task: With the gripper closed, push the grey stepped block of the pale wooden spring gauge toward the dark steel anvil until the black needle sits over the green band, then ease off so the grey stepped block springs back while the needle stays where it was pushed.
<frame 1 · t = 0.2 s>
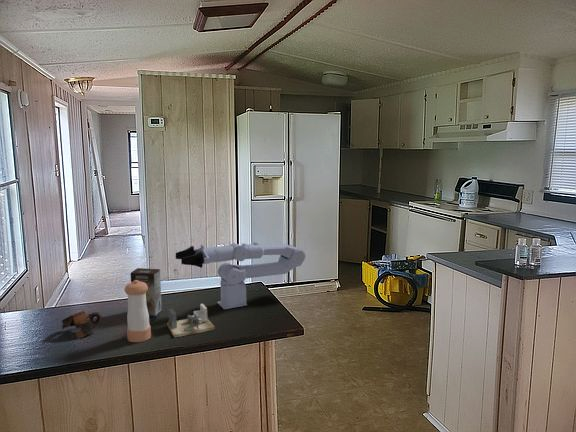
hand: (178, 258, 156), 21 cm above the counter, tool horizontal, fingers open, 7 cm apart
gauge base: (190, 327, 148), on the counter
grey stepped block: (197, 314, 150), point 4 cm above the counter, slide at 0.0 cm
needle: (196, 322, 146), point 3 cm above the counter, slide at 0.0 cm
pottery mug: (83, 333, 145), on the counter
anvil: (172, 328, 148), resting on gauge base
coffee box: (147, 312, 162), on the counter
salt shaker: (139, 338, 141), on the counter
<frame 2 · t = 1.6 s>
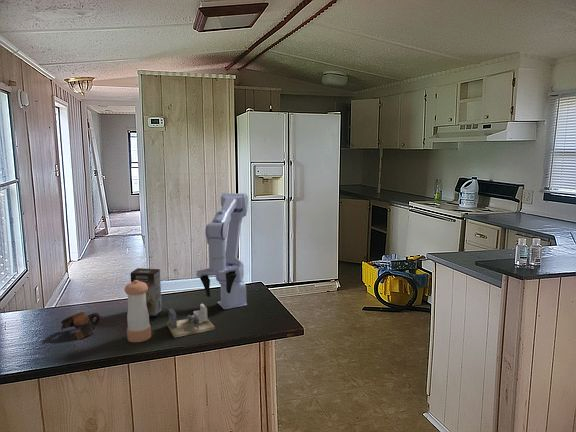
hand: (218, 294, 153), 9 cm above the counter, tool pointing down, fingers open, 7 cm apart
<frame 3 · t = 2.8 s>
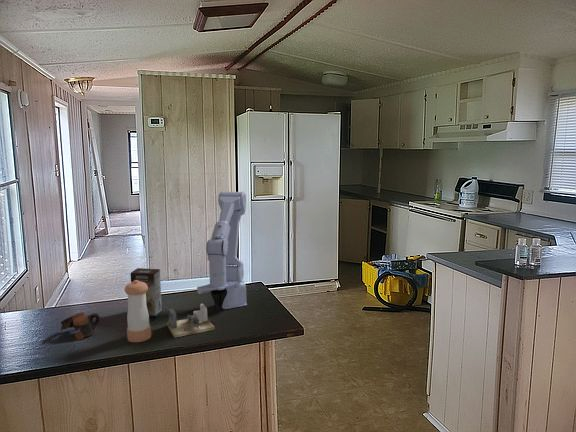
hand: (218, 309, 154), 4 cm above the counter, tool pointing down, fingers closed
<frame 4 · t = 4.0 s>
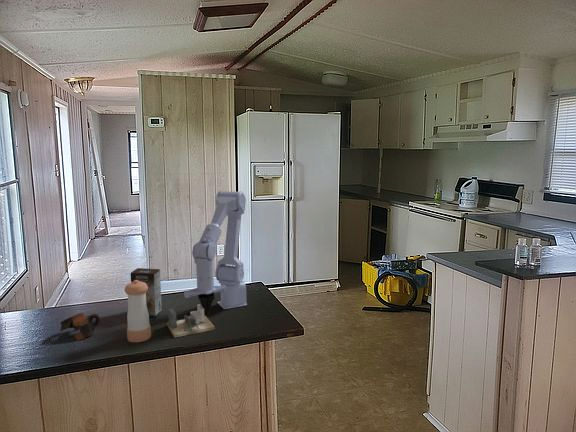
hand: (206, 314, 152), 3 cm above the counter, tool pointing down, fingers closed
grey stepped block: (194, 315, 149), point 4 cm above the counter, slide at 1.0 cm, touching gripper, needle
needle: (194, 322, 145), point 3 cm above the counter, slide at 0.7 cm, touching grey stepped block
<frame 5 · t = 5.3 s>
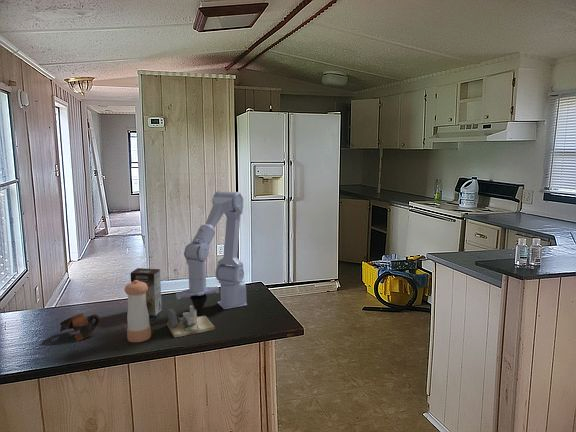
hand: (198, 315, 151), 3 cm above the counter, tool pointing down, fingers closed
grey stepped block: (186, 316, 148), point 4 cm above the counter, slide at 3.7 cm, touching gripper, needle
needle: (186, 324, 144), point 3 cm above the counter, slide at 3.4 cm, touching grey stepped block
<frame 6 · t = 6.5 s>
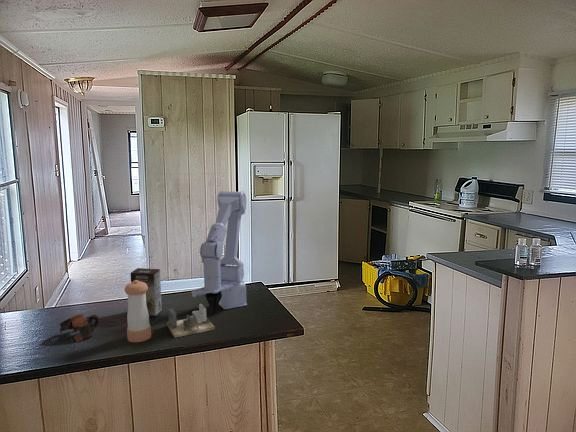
hand: (213, 312, 154), 3 cm above the counter, tool pointing down, fingers closed
grey stepped block: (196, 314, 149), point 4 cm above the counter, slide at 0.3 cm
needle: (186, 324, 144), point 3 cm above the counter, slide at 3.4 cm
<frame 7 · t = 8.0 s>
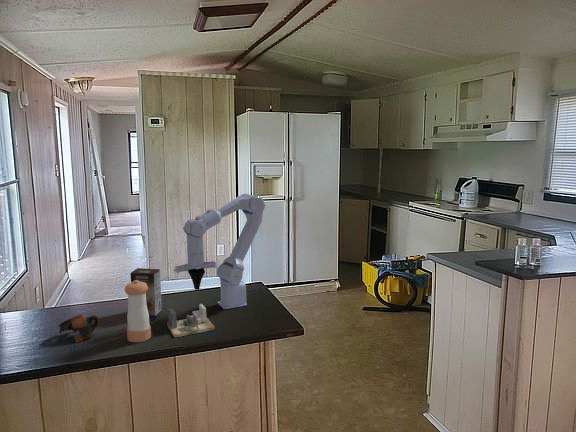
hand: (196, 288, 159), 9 cm above the counter, tool pointing down, fingers closed
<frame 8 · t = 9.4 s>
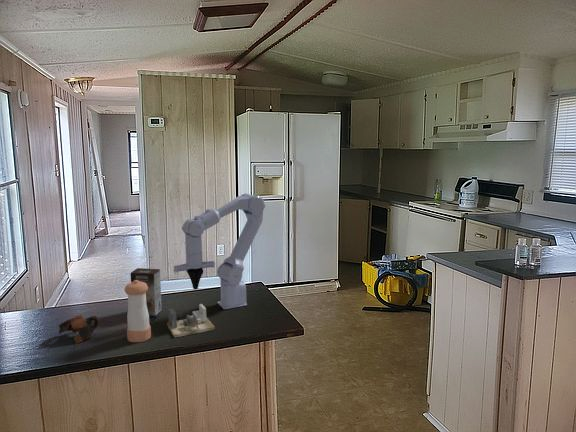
hand: (195, 288, 160), 9 cm above the counter, tool pointing down, fingers closed
at the end: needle slide at 3.4 cm; grey stepped block slide at 0.3 cm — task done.
